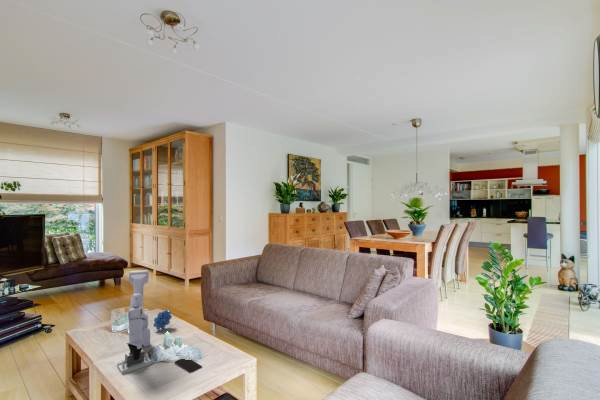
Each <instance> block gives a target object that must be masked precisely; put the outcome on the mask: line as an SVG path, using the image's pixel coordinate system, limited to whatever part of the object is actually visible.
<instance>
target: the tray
mask: <svg viewBox="0 0 600 400" xmlns="http://www.w3.org/2000/svg"><path fill="white" fill-rule="evenodd" d="M150 365H153V360H151V358H150V357H149V355H148V353H145V356H144V361H142V362H139V363H136V364H133V365H130V366H127V365H126V364H125V360H121V362H118V363H117V365H116V367H117V369H118V370H119V371H120V373H121V375H124V374H126V373H129V372H132V371H136V370H138V369H142V368H145V367H149V366H150Z"/></svg>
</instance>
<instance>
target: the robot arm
mask: <svg viewBox="0 0 600 400" xmlns="http://www.w3.org/2000/svg"><path fill="white" fill-rule="evenodd" d="M149 272H150V271H149V269H144V270H130V271H129V273H128V281H129V283H130V284H131V285H133V294H132V296H131V297H130V304H129V309H128V311H127V319H128V340H127V341H126V345H127V346H128V349H129V353H130V352H133V358H134V361H135V360H138V359H139V357H140V353H141V350H143V348H144V347H148V346H151V345H152V344H151V331H150V330H151V329H150V327H149V315H148V314H147V313H146V312H145V311H144V286H145V285H146V284H148V283H149V279H150V278H149V275H150V273H149Z"/></svg>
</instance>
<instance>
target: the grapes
mask: <svg viewBox="0 0 600 400" xmlns="http://www.w3.org/2000/svg"><path fill="white" fill-rule="evenodd" d="M172 317H173V316H172V313H171V311H170V310H167V309H164V310H162V311H160V312H158V313H157V316H155V318H154V319H153V327H154V328H155V329H156V330H157V331H158V330H160V329H162V330H163V329H165V328H166V326H168V325H169V324H170V322H171V321H170V320H172Z"/></svg>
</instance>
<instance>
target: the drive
mask: <svg viewBox="0 0 600 400" xmlns="http://www.w3.org/2000/svg"><path fill="white" fill-rule="evenodd" d="M145 354H146V353H145V351H144V349H142V350H141V353H140V357H139V359H138V360H135V361H134V358H133V352H130V351H129V352H126V353H125V355H124V361H125V364H126V365H127V366H130V365H133V364H136V363H139V362H142V361H144V356H145Z"/></svg>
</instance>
